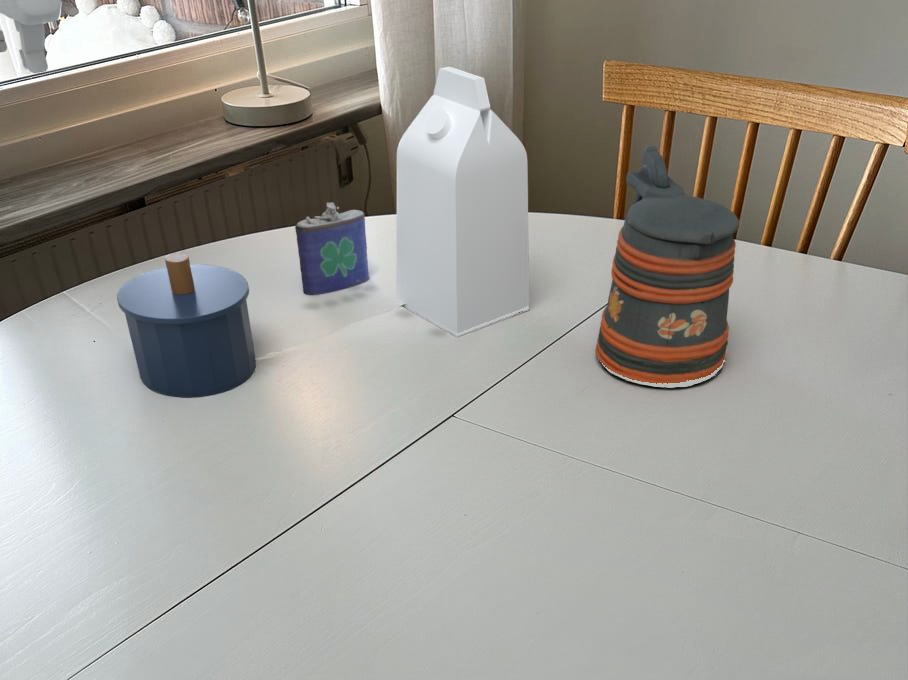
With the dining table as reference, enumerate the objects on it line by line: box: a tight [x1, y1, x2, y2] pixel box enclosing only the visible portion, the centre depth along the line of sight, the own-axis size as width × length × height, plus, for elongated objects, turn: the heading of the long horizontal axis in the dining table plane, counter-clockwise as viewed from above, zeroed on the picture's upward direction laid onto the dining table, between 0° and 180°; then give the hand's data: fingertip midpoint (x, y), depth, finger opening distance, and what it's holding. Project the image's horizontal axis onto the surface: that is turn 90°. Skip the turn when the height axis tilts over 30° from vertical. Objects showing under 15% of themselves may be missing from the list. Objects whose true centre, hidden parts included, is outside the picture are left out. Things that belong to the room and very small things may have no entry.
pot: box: [124, 299, 257, 398], centre depth 110 cm, size 13×13×8 cm
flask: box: [294, 201, 370, 296], centre depth 125 cm, size 9×3×11 cm, turn 124°
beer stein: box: [595, 145, 740, 389], centre depth 111 cm, size 19×15×20 cm
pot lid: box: [116, 252, 250, 324], centre depth 106 cm, size 14×14×5 cm
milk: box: [395, 66, 530, 338], centre depth 117 cm, size 12×12×26 cm
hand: (16, 61), depth 98 cm, fingers open, 8 cm apart
